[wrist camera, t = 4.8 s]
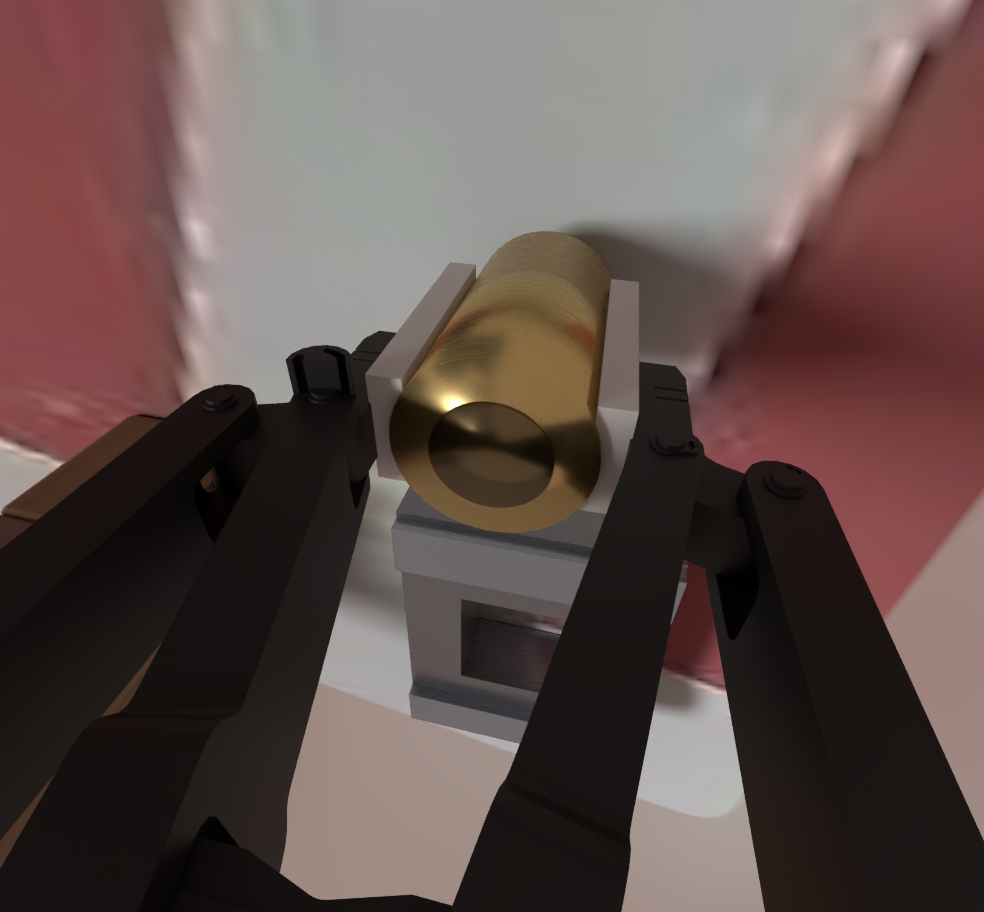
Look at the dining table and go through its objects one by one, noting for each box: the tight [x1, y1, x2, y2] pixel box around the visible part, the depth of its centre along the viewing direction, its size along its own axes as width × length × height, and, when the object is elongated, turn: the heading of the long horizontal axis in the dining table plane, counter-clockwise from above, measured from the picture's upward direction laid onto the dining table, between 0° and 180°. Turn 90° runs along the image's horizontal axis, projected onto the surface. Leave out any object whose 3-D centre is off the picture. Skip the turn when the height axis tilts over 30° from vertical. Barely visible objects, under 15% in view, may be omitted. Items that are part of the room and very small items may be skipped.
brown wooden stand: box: [0, 415, 212, 868], centre depth 22 cm, size 4×11×18 cm, turn 178°
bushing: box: [389, 231, 613, 533], centre depth 14 cm, size 4×4×8 cm
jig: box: [391, 487, 688, 744], centre depth 26 cm, size 15×11×4 cm
